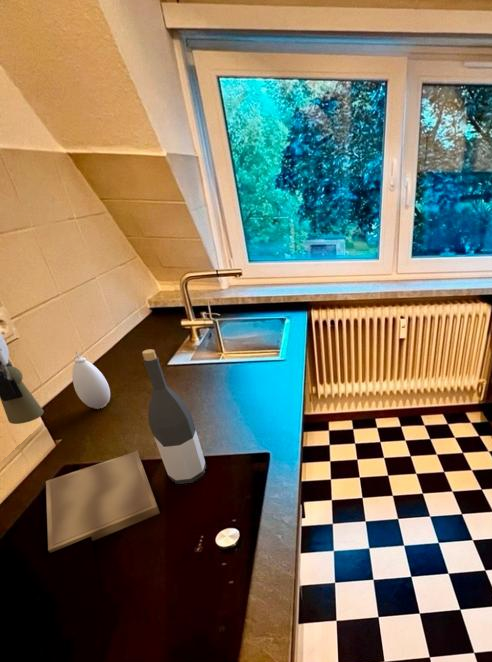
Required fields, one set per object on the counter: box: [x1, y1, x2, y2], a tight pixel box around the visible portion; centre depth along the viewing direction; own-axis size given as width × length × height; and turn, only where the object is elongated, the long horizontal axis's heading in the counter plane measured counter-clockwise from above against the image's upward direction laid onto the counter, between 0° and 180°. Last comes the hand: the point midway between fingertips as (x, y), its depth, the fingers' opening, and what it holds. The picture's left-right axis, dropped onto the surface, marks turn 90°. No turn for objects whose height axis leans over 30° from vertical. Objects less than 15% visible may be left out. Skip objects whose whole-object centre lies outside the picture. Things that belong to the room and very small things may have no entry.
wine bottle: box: [142, 348, 207, 485], centre depth 80 cm, size 8×8×30 cm
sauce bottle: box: [72, 349, 111, 410], centre depth 107 cm, size 8×8×18 cm
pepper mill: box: [0, 366, 45, 425], centre depth 79 cm, size 6×6×11 cm
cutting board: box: [45, 450, 161, 553], centre depth 80 cm, size 18×22×2 cm
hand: (13, 391), depth 79 cm, fingers closed on pepper mill, 5 cm apart
